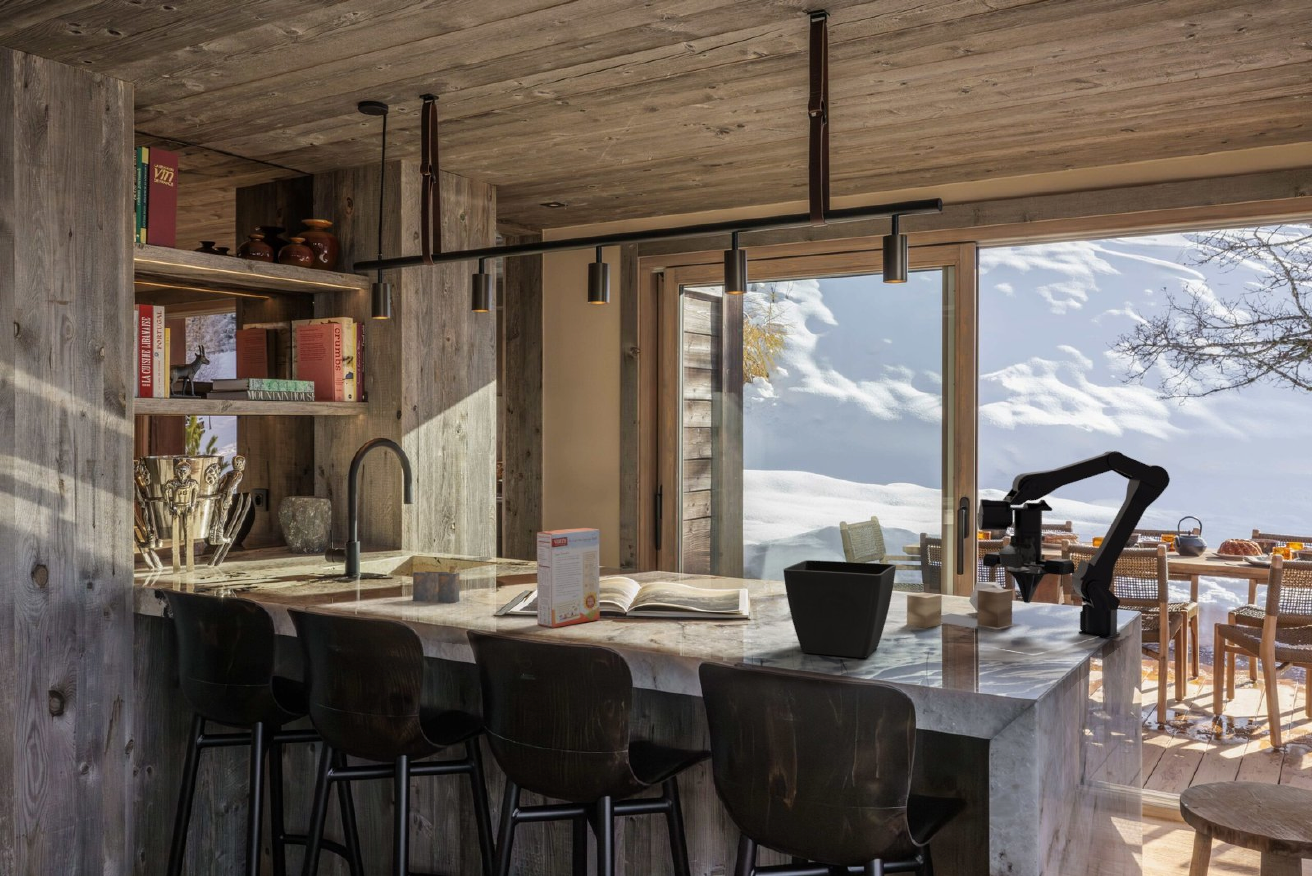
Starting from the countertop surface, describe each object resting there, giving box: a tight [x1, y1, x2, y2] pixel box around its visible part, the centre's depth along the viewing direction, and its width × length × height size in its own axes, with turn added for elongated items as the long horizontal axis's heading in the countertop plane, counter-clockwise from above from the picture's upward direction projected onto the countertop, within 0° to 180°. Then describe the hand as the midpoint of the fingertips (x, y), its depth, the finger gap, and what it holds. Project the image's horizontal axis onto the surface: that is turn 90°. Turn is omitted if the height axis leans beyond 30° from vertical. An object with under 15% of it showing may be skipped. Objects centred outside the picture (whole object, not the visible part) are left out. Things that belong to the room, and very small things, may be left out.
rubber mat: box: [941, 612, 1021, 632], centre depth 229 cm, size 18×12×1 cm, turn 41°
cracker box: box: [536, 527, 601, 629], centre depth 226 cm, size 14×6×21 cm, turn 135°
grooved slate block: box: [412, 563, 460, 604], centre depth 253 cm, size 11×3×10 cm, turn 78°
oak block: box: [906, 592, 943, 629], centre depth 226 cm, size 5×6×7 cm
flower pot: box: [783, 559, 897, 659], centre depth 199 cm, size 19×19×17 cm
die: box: [968, 581, 1004, 613], centre depth 240 cm, size 8×9×10 cm
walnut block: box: [976, 588, 1013, 630], centre depth 225 cm, size 5×6×8 cm
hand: (1027, 602), depth 219 cm, fingers closed
